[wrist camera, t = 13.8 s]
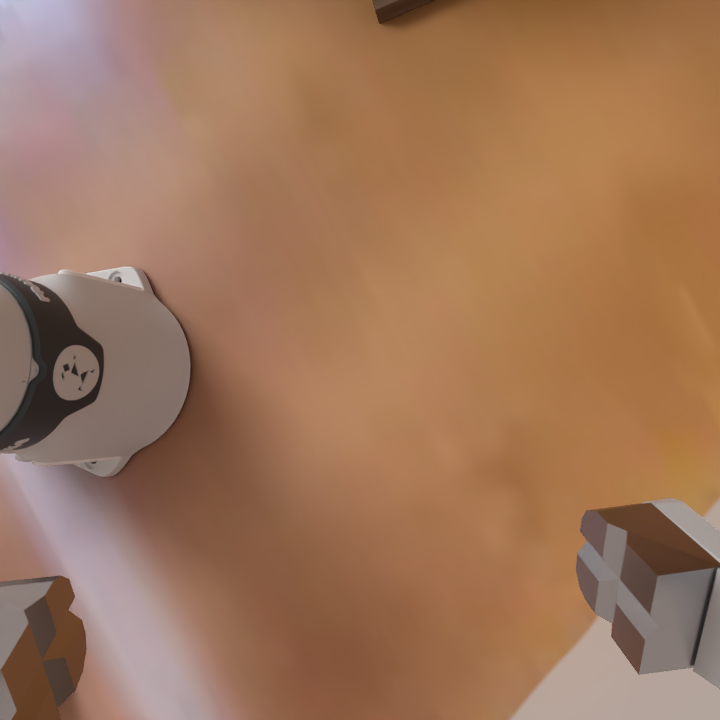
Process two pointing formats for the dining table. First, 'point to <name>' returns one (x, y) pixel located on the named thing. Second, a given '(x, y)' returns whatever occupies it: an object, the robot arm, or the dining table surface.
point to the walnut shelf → (395, 7)
